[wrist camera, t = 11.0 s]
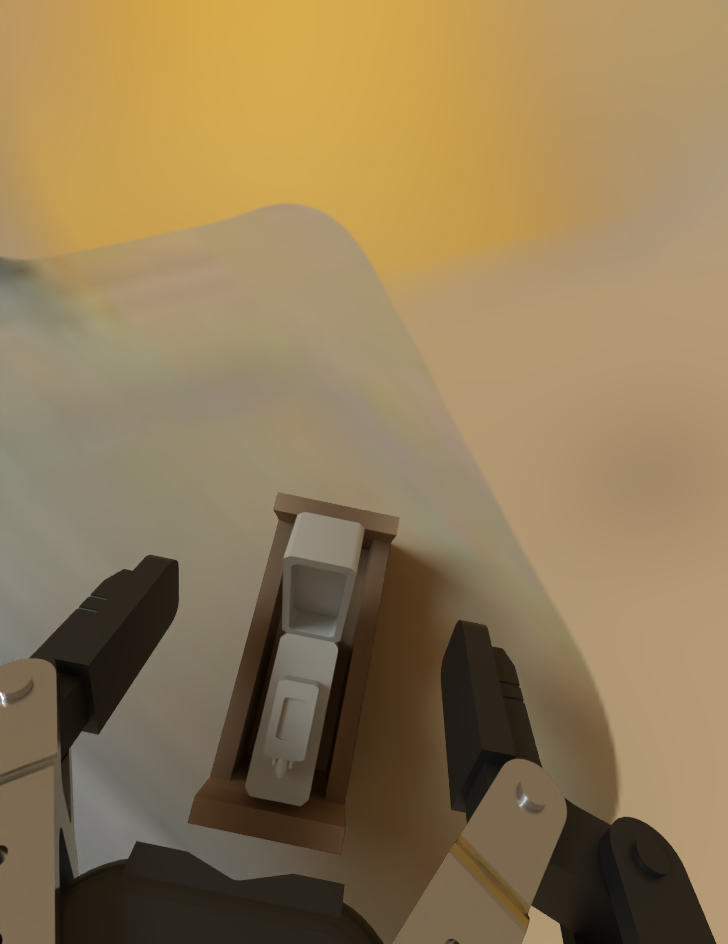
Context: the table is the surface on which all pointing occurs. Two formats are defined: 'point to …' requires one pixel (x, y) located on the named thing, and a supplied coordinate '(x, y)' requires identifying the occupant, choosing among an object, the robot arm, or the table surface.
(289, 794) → the lighter
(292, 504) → the open wooden box
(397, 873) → the table surface
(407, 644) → the table surface
